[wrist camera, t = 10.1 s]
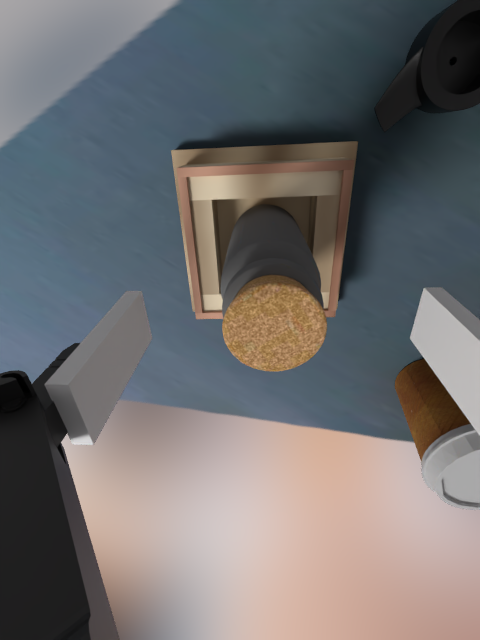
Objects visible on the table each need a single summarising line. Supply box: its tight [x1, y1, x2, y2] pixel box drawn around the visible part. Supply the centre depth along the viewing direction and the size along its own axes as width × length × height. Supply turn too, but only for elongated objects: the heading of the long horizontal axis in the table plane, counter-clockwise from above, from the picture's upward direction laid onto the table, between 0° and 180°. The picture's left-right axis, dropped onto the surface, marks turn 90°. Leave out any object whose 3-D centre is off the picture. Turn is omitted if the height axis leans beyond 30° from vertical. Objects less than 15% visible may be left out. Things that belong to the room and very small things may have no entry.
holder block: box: [171, 141, 358, 319], centre depth 26 cm, size 14×14×4 cm
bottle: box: [220, 204, 327, 371], centre depth 21 cm, size 6×6×15 cm
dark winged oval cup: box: [375, 0, 480, 132], centre depth 21 cm, size 8×10×3 cm
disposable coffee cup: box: [395, 359, 480, 510], centre depth 30 cm, size 10×10×12 cm
